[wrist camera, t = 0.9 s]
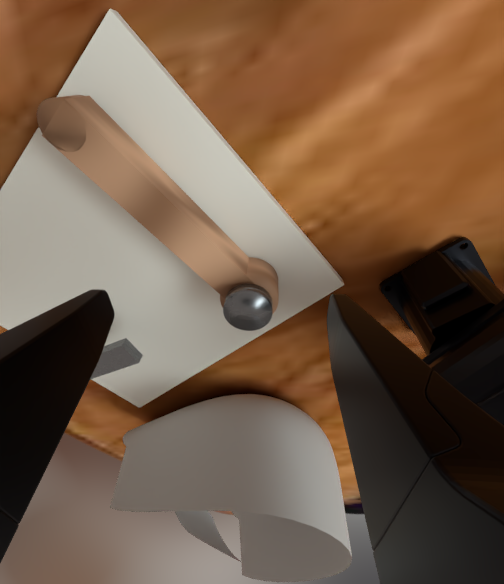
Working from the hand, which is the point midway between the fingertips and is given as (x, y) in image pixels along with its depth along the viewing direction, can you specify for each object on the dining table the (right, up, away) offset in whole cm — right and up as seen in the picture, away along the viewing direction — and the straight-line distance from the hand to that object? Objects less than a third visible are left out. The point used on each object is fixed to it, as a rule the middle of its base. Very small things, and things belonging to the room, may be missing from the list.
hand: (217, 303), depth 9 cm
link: (-3, +5, +11) cm, 13 cm away
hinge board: (-9, +1, +16) cm, 18 cm away
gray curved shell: (+1, -16, +28) cm, 32 cm away
